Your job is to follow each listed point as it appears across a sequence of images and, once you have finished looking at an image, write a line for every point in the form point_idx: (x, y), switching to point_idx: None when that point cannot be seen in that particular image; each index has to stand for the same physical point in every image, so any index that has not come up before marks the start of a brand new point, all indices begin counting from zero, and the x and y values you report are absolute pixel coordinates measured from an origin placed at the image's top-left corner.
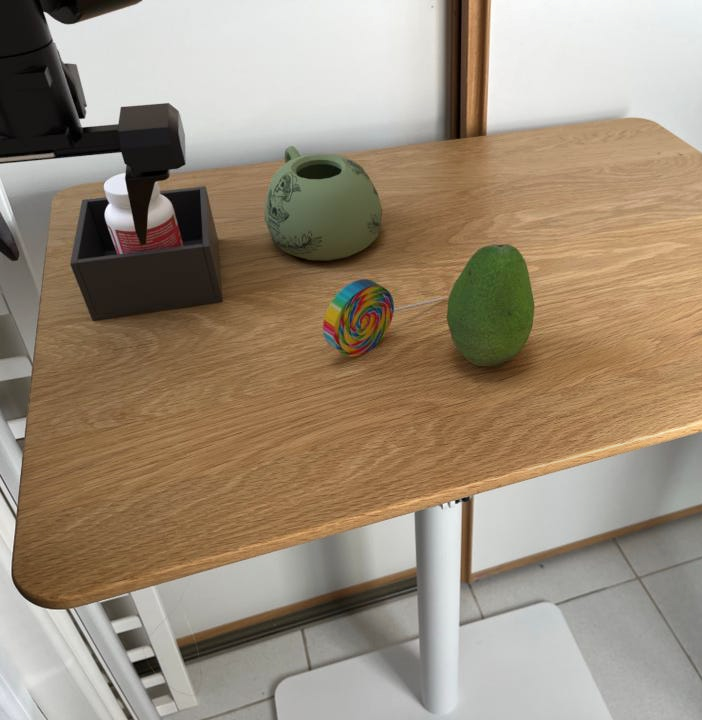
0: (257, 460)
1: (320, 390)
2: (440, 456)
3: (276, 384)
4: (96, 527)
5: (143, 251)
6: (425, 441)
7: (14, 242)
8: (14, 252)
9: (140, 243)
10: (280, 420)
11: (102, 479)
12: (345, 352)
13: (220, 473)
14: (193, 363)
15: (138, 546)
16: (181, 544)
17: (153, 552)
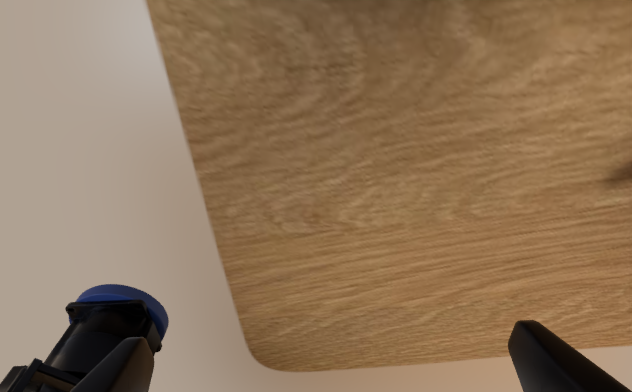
0: (455, 300)
1: (562, 223)
2: (620, 322)
3: (515, 202)
4: (304, 336)
5: None
6: (621, 306)
7: (124, 377)
8: (143, 385)
9: (512, 359)
10: (496, 258)
11: (302, 295)
12: None
13: (417, 307)
14: (415, 135)
15: (340, 354)
16: (374, 357)
17: (352, 359)
